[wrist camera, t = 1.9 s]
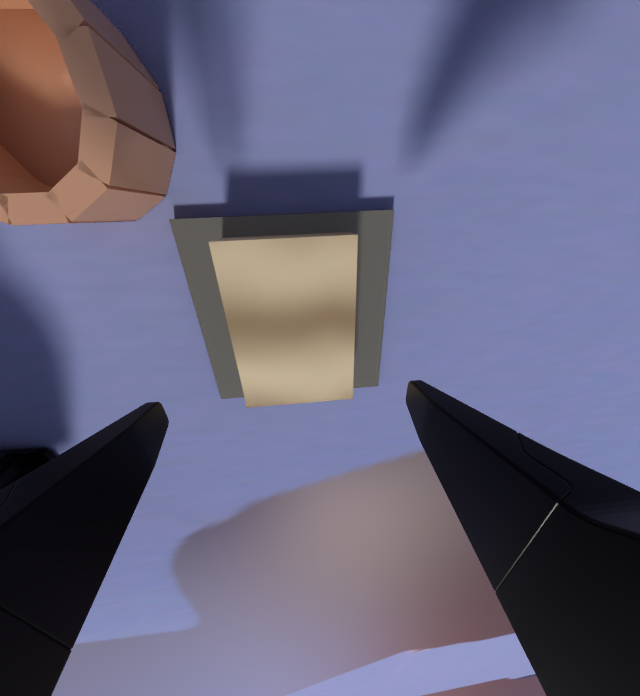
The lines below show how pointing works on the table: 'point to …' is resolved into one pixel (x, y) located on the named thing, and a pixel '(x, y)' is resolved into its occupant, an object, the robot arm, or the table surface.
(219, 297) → the mat
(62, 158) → the bowl
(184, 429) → the table surface
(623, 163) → the table surface
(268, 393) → the cover
